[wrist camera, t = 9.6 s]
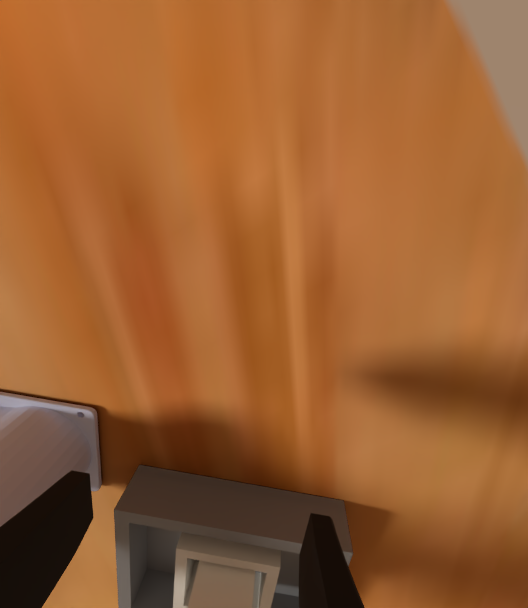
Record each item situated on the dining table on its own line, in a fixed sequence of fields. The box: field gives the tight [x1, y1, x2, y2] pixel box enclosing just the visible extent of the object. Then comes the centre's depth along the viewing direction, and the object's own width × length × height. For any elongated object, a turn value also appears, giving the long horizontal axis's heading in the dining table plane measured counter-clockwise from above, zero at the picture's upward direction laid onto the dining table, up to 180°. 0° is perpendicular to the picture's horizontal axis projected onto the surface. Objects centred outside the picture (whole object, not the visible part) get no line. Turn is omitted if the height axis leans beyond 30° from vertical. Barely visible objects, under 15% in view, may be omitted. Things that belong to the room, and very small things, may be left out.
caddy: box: [114, 465, 353, 608], centre depth 23 cm, size 16×12×4 cm
